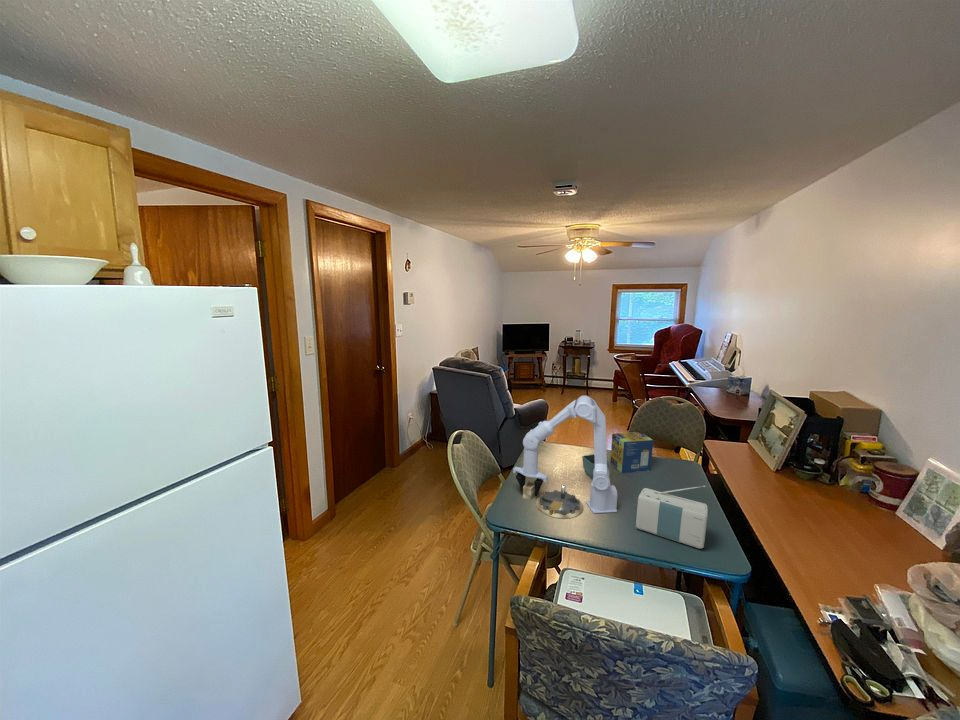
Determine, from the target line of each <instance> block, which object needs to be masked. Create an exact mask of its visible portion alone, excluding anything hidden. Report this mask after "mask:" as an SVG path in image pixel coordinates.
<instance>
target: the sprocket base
mask: <svg viewBox="0 0 960 720" xmlns="http://www.w3.org/2000/svg"><path fill="white" fill-rule="evenodd" d="M544 494H545V493H543V494H542V495H544ZM540 496H541V495H538V496H537V498H536V500H535V501H536V502H535V503H536V504H535V505H536V508H537V509H538V510H539V512H540V513H543V514H544V515H545V516H548V517H551V518H555V519H559V520H569V519H573V518H577V517H579V516H581V514H583V512H584V504H583V503H582V501H581V500H580V499H579V501H580V509H579V510H575V513H574V514H571V513H567V514H566V515H562V514H559V513H555V514H553V513H552V509H550V510H544V509H543V505H540ZM575 498H576V499H578V498H577V497H576V496H575Z"/></svg>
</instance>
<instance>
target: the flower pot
mask: <svg viewBox="0 0 960 720" xmlns="http://www.w3.org/2000/svg"><path fill="white" fill-rule="evenodd" d="M581 457H582V466H583V470H584V472H585V474H586V476H588V477H589V479H591V480H592V481H593V469H594V468H595V457H594V453H593V454H585V455H582V456H581ZM607 467H608V468H609V467H610V461H609V459H607Z"/></svg>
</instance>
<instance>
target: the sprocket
mask: <svg viewBox="0 0 960 720" xmlns="http://www.w3.org/2000/svg"><path fill="white" fill-rule="evenodd" d="M560 487H561V488H560V491H558V489H556V490H555V489H554V490H553V491H549V490H547V491H545V493H543V494H544V495H543V494H540V495H539V496H540V505H543V509H544V510H550V509H552V513H553V514H555V513H559V514H562V515H566V514H567V513H571V514H574V513H575V510H579V509H580V501H581V500H580V499H579V498H577V497H576V495H575V494H571V493H569V492H568V491H567V486H566V484H561V485H560ZM575 497H576V498H577V499H576V498H575ZM579 500H580V501H579Z"/></svg>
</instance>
